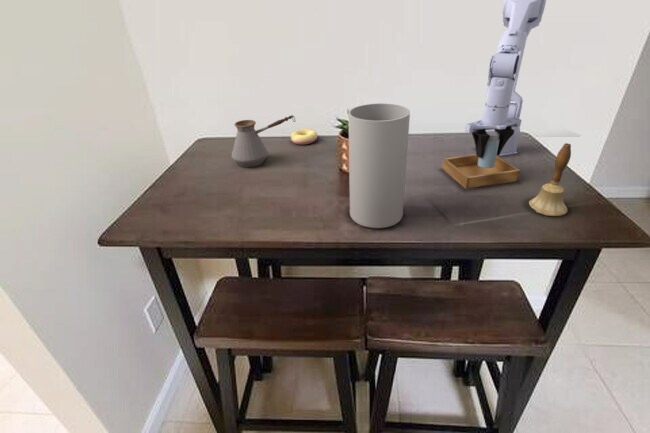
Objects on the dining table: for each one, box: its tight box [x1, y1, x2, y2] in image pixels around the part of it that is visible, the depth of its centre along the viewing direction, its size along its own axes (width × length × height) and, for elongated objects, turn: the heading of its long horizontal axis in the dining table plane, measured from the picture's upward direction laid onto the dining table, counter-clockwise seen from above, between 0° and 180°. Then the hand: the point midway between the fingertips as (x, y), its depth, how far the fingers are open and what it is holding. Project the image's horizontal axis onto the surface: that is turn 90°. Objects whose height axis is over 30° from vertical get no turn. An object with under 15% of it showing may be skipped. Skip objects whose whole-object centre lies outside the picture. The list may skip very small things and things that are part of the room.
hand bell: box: [528, 143, 572, 217], centre depth 87 cm, size 8×8×16 cm
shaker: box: [478, 131, 500, 168], centre depth 102 cm, size 4×4×9 cm
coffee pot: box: [231, 114, 296, 168], centre depth 118 cm, size 21×12×15 cm, turn 84°
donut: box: [290, 128, 318, 146], centre depth 136 cm, size 10×5×9 cm
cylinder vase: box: [347, 102, 411, 229], centre depth 85 cm, size 12×12×25 cm
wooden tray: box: [442, 154, 521, 189], centre depth 106 cm, size 15×13×4 cm
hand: (487, 155), depth 103 cm, fingers closed on shaker, 4 cm apart
